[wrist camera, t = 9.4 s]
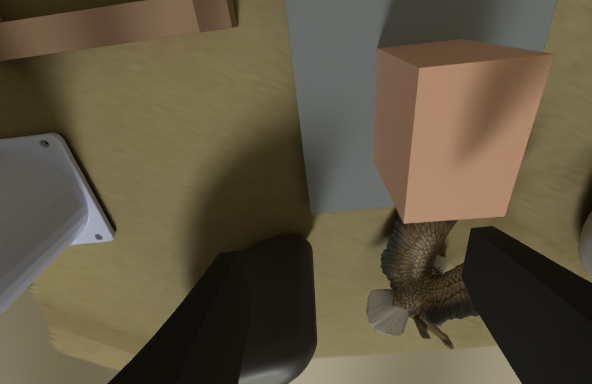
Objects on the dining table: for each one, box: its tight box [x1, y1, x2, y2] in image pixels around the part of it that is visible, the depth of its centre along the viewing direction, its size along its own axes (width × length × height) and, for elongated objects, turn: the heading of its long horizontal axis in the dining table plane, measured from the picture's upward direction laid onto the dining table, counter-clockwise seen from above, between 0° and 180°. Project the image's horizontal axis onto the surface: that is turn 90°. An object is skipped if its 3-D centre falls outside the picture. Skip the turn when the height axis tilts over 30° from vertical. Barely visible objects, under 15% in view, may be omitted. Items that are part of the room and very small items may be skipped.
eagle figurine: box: [366, 215, 479, 350], centre depth 20 cm, size 8×7×9 cm
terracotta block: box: [373, 39, 555, 224], centre depth 13 cm, size 4×6×6 cm, turn 6°
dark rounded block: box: [238, 236, 317, 384], centre depth 20 cm, size 16×5×9 cm, turn 144°
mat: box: [285, 0, 557, 214], centre depth 16 cm, size 12×12×1 cm
